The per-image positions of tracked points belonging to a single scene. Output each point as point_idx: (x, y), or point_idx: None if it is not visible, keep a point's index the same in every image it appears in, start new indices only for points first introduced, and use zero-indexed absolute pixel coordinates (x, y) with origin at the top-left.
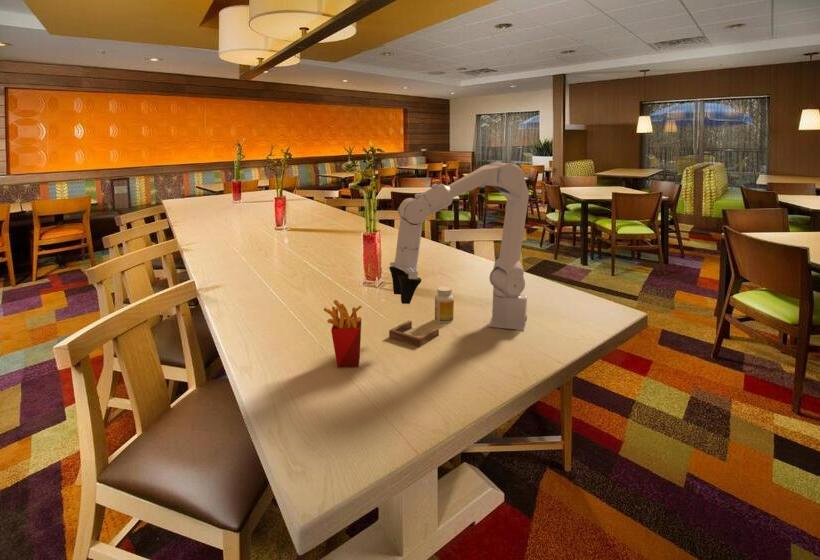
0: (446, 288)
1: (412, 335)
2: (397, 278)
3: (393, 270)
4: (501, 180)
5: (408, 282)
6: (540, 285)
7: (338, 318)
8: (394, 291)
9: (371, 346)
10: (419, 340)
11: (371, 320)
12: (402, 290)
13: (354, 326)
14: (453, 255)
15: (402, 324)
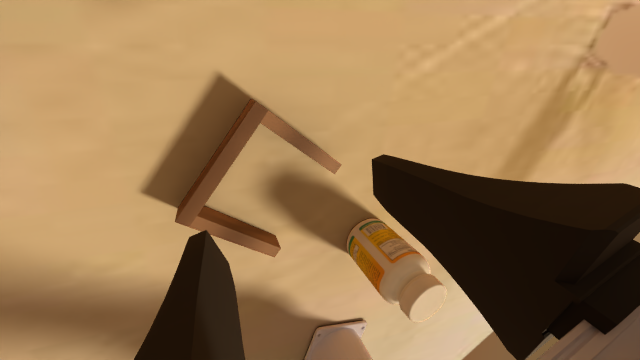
0: (428, 308)
1: (211, 193)
2: (460, 227)
3: (561, 248)
4: None
5: None
6: (469, 340)
7: None
8: (383, 165)
9: (149, 21)
10: (176, 218)
11: (398, 26)
12: (139, 351)
13: None
14: None
15: (311, 147)
